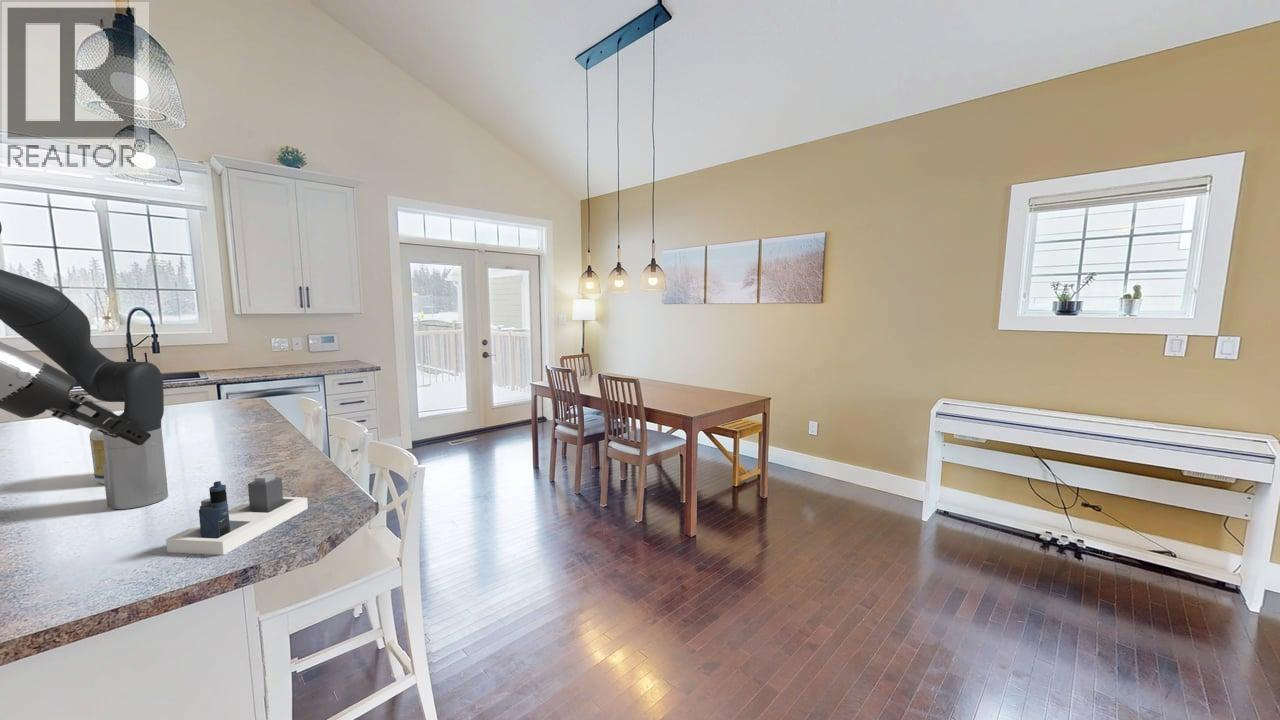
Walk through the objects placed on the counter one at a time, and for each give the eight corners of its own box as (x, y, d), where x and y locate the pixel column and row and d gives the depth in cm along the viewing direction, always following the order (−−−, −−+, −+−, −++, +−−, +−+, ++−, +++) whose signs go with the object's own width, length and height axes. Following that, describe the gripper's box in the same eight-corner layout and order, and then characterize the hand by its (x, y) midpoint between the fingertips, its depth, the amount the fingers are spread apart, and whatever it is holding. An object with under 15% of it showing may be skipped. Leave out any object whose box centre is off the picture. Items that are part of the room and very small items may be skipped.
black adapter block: (250, 519, 98) (247, 479, 97) (266, 511, 102) (263, 472, 101) (268, 520, 98) (265, 479, 97) (284, 512, 102) (281, 473, 101)
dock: (224, 559, 84) (222, 541, 84) (167, 557, 85) (165, 539, 85) (308, 512, 104) (307, 497, 104) (261, 510, 105) (260, 495, 105)
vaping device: (220, 546, 87) (215, 485, 86) (198, 542, 88) (192, 482, 87) (234, 539, 90) (229, 480, 89) (213, 536, 91) (208, 477, 90)
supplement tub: (154, 466, 132) (148, 409, 130) (169, 475, 126) (163, 414, 124) (89, 479, 121) (81, 417, 120) (101, 489, 115) (94, 423, 114)
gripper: (-33, 396, 67) (93, 449, 79) (2, 407, 61) (133, 463, 73) (21, 356, 71) (133, 413, 83) (59, 363, 65) (174, 423, 77)
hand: (133, 436), depth 78 cm, fingers open, 8 cm apart
